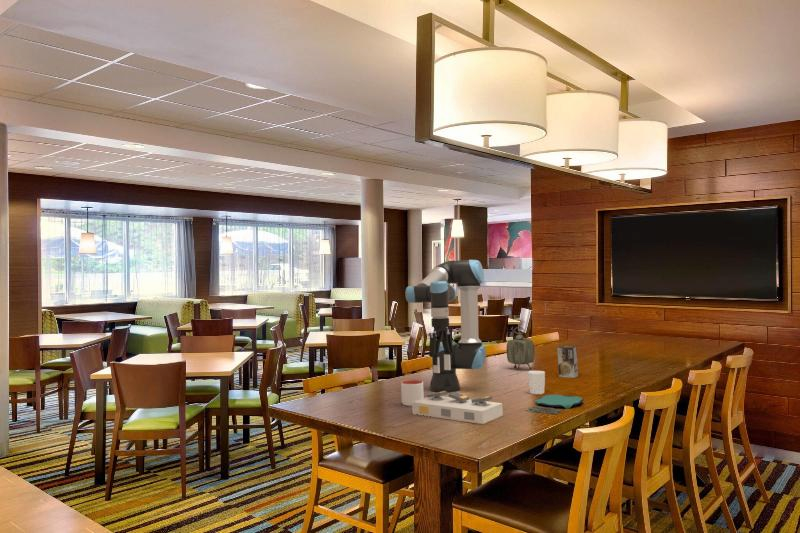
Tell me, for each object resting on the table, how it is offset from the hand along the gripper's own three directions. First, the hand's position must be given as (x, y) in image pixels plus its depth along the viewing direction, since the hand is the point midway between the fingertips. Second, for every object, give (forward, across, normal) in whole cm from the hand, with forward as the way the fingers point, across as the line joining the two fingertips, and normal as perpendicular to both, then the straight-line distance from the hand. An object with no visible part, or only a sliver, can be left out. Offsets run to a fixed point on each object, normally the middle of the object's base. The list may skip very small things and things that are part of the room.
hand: (442, 371), depth 259 cm
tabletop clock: (+17, +109, +19) cm, 112 cm away
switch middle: (+10, 0, -8) cm, 13 cm away
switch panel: (+17, -2, -8) cm, 19 cm away
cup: (+17, +5, +20) cm, 27 cm away
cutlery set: (+18, +32, -36) cm, 51 cm away
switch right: (+10, 0, -19) cm, 22 cm away
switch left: (+10, 0, +3) cm, 11 cm away
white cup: (+17, +53, -18) cm, 59 cm away
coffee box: (+17, +100, -14) cm, 102 cm away
